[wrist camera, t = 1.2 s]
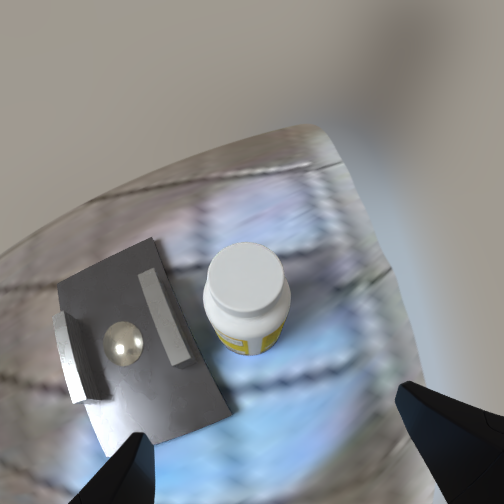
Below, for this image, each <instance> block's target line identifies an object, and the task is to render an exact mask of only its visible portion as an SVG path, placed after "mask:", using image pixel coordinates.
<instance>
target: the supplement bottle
mask: <svg viewBox="0 0 504 504" xmlns="http://www.w3.org/2000/svg"><path fill="white" fill-rule="evenodd" d="M203 302H204V308H205V311H206V314H207V316H208V318H209V320H210V322H211V324H212V326H213V328H214V329H215V331H216V333H217V335H218V337H219V339H220V340H221V342H222V343H223V344H224V345H225V346H226V347H227V348H228V349H229V350H231V351H233V352H235V353H237V354H240V355H245V356H253V355H258V354H261V353H263V352H265V351H267V350H268V349H270V348H271V347H272V346H273V345H274V344H275V343H276V341H277V339H278V338H279V336H280V333H281V331H282V328H283V325H284V323H285V320H286V318H287V315H288V312H289V309H290V304H291V292H290V287H289V284H288V282H287V279H286V277H285V276H284V269H283V266H282V263H281V261H280V260H279V258H278V257H277V256H276V255H275V253H273V252H272V251H271V250H270V249H268V248H267V247H265V246H263V245H260V244H257V243H251V242H241V243H236V244H232V245H230V246H227V247H226V248H224V249H222V250H221V251H220V252H219V253H218V254H217V255H216V256H215V257H214V258H213V260H212V262H211V264H210V266H209V269H208V274H207V282H206V284H205V287H204V292H203Z"/></svg>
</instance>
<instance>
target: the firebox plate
mask: <svg viewBox="0 0 504 504" xmlns="http://www.w3.org/2000/svg"><path fill="white" fill-rule="evenodd" d="M57 289H58V296H59V303H60V310H61V312H60V313H58V314H56V315H54V316H52V318H53V325H54V330H55V336H56V341H57V346H58V350H59V355H60V359H61V363H62V367H63V371H64V375H65V378H66V382H67V385H68V389H69V392H70V395H71V398H72V401H73V403H77V404H85V407H86V410H87V413H88V415H89V418H90V420H91V423H92V425H93V428H94V430H95V433H96V435H97V437H98V439H99V442H100V444H101V446H102V448H103V450H104V453H105V455H106V457H111V456H112V455H113V454H114V453H115V452H116V451H117V450H118V449H119V447H120V446H121V445H122V444H123V443H124V442H125V441H126V440H127V438H128V437H129V436H130V435H131V434H132V433H133V432H144V433H145V434H146V435H147V436H148V438H149V440H150V441H151V443H152V444H153V445H155V444H158V443H161V442H164V441H167V440H170V439H173V438H176V437H179V436H182V435H185V434H187V433H190V432H193V431H195V430H198V429H200V428H203V427H205V426H208V425H210V424H213V423H215V422H218V421H220V420H222V419H224V418H227V417H229V416H231V415H233V414H232V412H231V410H230V408H229V407H228V405H227V403H226V401H225V399H224V397H223V396H222V394H221V392H220V390H219V388H218V386H217V384H216V382H215V380H214V378H213V377H212V375H211V373H210V371H209V369H208V367H207V365H206V363H205V361H204V359H203V357H202V354H201V352H200V350H199V348H198V346H197V344H196V342H195V340H194V338H193V335H192V333H191V331H190V329H189V327H188V324H187V322H186V320H185V318H184V315H183V313H182V311H181V308H180V306H179V304H178V301H177V299H176V297H175V294H174V292H173V289H172V287H171V284H170V282H169V279H168V277H167V274H166V272H165V269H164V267H163V264H162V261H161V259H160V256H159V253H158V251H157V248H156V245H155V243H154V240H153V238H152V237H151V238H148V239H146V240H144V241H142V242H140V243H138V244H135V245H133V246H131V247H129V248H127V249H125V250H123V251H121V252H119V253H117V254H114V255H112V256H110V257H108V258H106V259H104V260H102V261H100V262H98V263H96V264H94V265H92V266H90V267H88V268H86V269H84V270H82V271H80V272H79V273H77V274H75V275H73V276H71V277H69V278H67V279H65V280H63V281H61V282H60V283H58V284H57Z"/></svg>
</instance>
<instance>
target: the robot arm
mask: <svg viewBox="0 0 504 504" xmlns="http://www.w3.org/2000/svg"><path fill="white" fill-rule="evenodd" d="M395 404H396V406H397V408H398V411H399V413H400V415H401V417H402V420H403V422H404V424H405V427H406V429H407V431H408V433H409V435H410V437H411V439H412V441H413V442H414V444H415V446H416V447H417V449H418V451H419V453H420V454H421V456H422V458H423V460H424V461H425V463H426V465H427V467H428V468H429V470H430V472H431V474H432V476H433V477H434V479H435V481H436V483H437V485H438V486H439V488H440V490H441V492H442V494H443V496H444V498H445V500H446V501H447V503H448V504H504V416H500V415H497V414H493V413H490V412H488V411H485V410H482V409H479V408H476V407H473V406H471V405H468V404H466V403H463V402H460V401H458V400H455V399H453V398H450V397H448V396H445V395H443V394H440V393H438V392H435V391H433V390H430V389H428V388H426V387H423V386H421V385H419V384H416V383H414V382H412V381H407V382H404V383H402V384H400V385H399V387H398V391H397V394H396V397H395ZM154 498H155V459H154V446H153V444H152V443H151V441H150V440H149V438H148V436H147V435H146V434H145V433H144V432H133V433H132V434H131V435H130V436H129V437H128V438H127V440H126V441H125V442H124V443H123V444H122V445H121V446H120V447H119V449H118V450H117V451H116V452H115V453H114V454H113V455H112V456H111V458H110V459H109V460H108V461H107V462H106V463H105V464H104V465H103V467H102V468H101V469H100V470H99V471H98V472H97V473H96V474H95V475H94V476H93V478H92V479H91V480H90V481H89V482H88V483H87V484H86V485H85V486H84V487H83V488H82V490H81V491H80V492H79V494H77V495H76V496H75V497H74V498H73V499H72V500H71V501H70V502H69V503H68V504H154Z"/></svg>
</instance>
